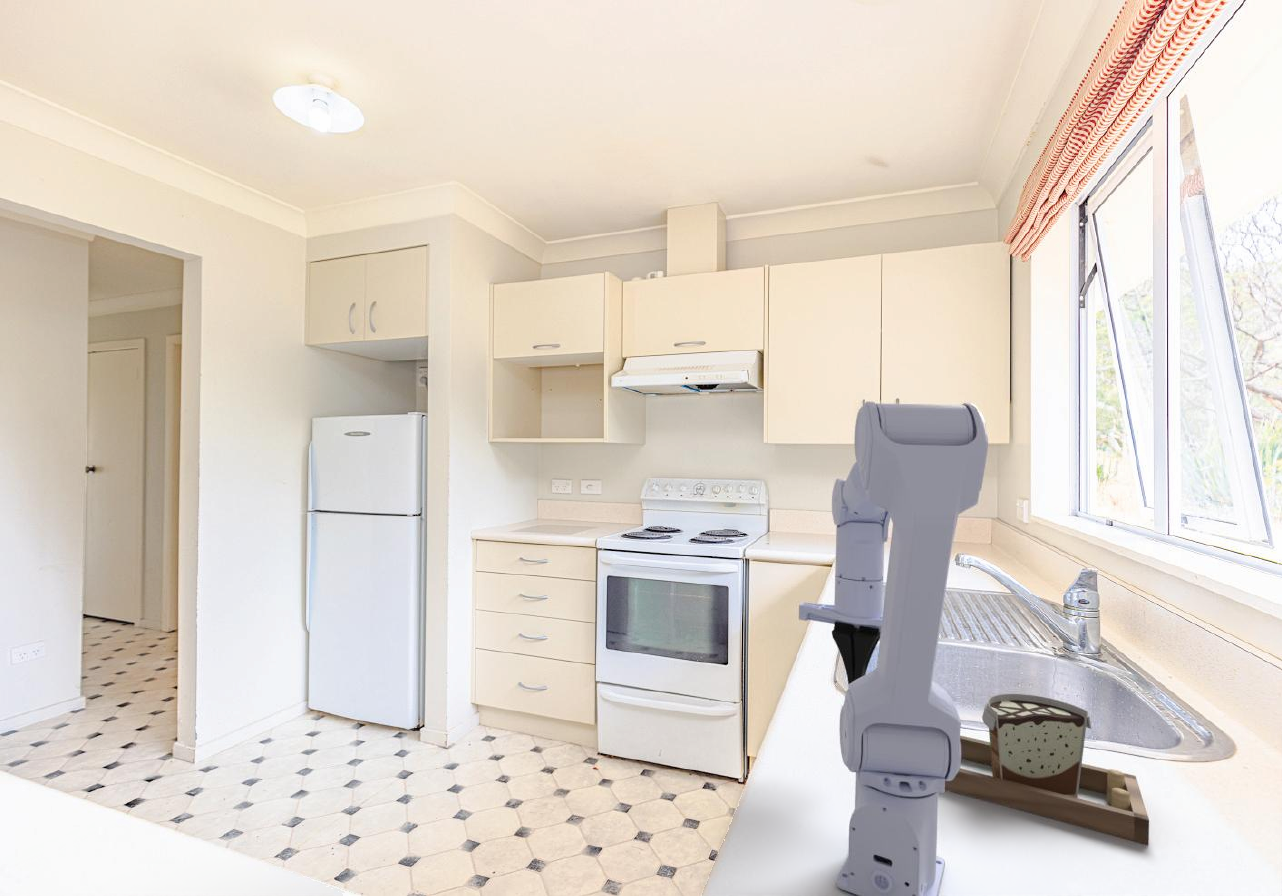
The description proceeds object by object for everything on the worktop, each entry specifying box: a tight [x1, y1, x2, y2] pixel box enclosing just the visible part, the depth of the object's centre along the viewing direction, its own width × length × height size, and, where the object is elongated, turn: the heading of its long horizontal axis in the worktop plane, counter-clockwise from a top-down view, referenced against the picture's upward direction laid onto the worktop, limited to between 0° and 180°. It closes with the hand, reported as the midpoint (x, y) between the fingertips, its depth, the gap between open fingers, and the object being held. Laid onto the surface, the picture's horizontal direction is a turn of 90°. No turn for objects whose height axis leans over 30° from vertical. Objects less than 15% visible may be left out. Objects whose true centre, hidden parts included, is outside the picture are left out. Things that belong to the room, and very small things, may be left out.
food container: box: [981, 693, 1092, 798], centre depth 78 cm, size 12×6×10 cm, turn 96°
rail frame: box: [945, 735, 1150, 846], centre depth 76 cm, size 11×20×4 cm, turn 58°
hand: (856, 686), depth 81 cm, fingers closed
